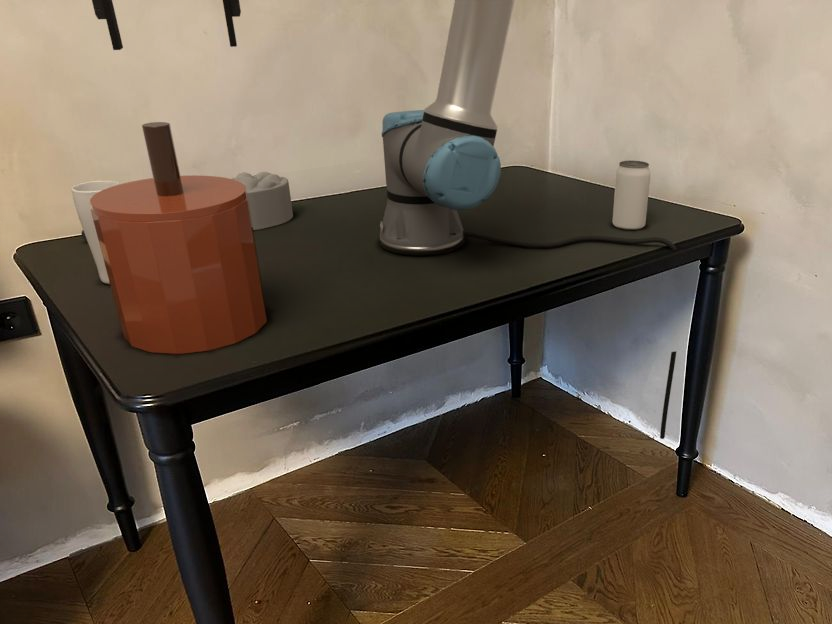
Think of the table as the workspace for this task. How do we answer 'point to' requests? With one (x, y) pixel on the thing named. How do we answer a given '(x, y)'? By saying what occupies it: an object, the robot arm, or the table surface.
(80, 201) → the drinking glass
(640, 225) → the can
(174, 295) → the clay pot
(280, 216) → the lumpy-topped squat cylinder
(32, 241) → the table surface
